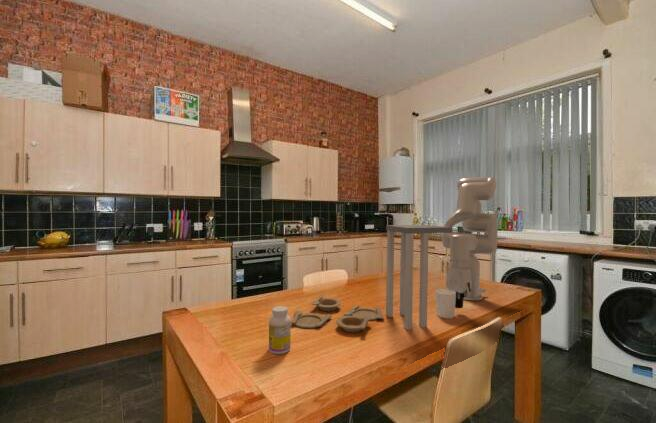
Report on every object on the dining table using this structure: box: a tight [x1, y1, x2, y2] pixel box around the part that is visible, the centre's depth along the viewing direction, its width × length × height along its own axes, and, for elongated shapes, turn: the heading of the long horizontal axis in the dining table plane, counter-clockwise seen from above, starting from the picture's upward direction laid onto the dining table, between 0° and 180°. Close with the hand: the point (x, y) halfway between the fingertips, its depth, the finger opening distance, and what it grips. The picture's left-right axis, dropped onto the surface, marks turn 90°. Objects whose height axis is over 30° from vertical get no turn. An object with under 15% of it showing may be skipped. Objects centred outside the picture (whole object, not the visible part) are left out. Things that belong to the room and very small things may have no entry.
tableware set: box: [291, 294, 385, 333], centre depth 118 cm, size 35×29×4 cm
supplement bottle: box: [268, 305, 292, 355], centre depth 91 cm, size 7×7×13 cm
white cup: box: [435, 288, 456, 319], centre depth 122 cm, size 8×8×10 cm
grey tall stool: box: [385, 224, 454, 331], centre depth 117 cm, size 20×15×37 cm
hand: (458, 307), depth 124 cm, fingers closed
